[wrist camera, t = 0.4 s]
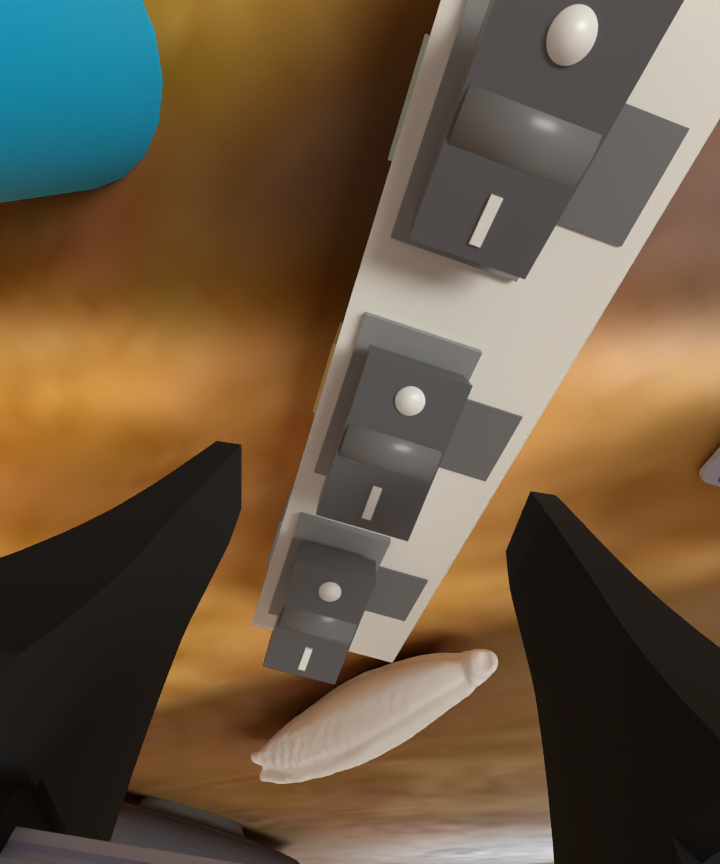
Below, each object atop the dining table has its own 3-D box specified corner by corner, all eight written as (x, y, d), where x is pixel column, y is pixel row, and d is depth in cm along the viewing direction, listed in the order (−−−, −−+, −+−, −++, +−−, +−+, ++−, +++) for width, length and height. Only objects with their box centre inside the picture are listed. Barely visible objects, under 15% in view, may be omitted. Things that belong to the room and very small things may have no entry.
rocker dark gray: (462, 374, 15) (474, 387, 14) (404, 517, 17) (408, 544, 16) (369, 343, 15) (369, 353, 14) (320, 492, 17) (315, 517, 15)
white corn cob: (510, 640, 30) (527, 716, 26) (309, 746, 39) (299, 815, 35) (454, 598, 29) (462, 672, 25) (257, 718, 37) (240, 788, 33)
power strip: (879, -317, 11) (1148, -577, 7) (393, 594, 29) (392, 668, 25) (578, -471, 10) (688, -856, 6) (269, 560, 28) (246, 629, 24)
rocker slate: (375, 557, 20) (376, 585, 18) (337, 655, 22) (334, 688, 20) (303, 537, 20) (296, 563, 18) (270, 638, 22) (261, 670, 20)
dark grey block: (656, -2, 10) (688, -1, 8) (518, 254, 13) (525, 283, 12) (511, -63, 9) (521, -72, 8) (412, 217, 13) (408, 241, 12)
